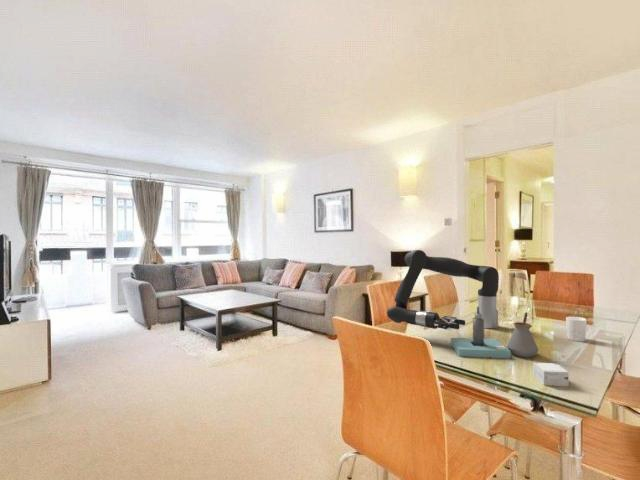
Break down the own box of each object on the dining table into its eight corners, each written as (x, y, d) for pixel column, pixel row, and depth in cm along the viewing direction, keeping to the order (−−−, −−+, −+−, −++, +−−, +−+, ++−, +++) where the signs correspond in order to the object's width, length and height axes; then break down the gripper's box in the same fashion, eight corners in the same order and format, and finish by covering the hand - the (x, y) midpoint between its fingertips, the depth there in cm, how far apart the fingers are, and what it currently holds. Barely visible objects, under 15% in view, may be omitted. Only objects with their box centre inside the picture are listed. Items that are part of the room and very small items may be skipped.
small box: (543, 385, 113) (543, 370, 113) (532, 376, 121) (532, 362, 121) (569, 387, 112) (569, 372, 112) (556, 377, 120) (556, 363, 119)
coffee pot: (537, 361, 134) (536, 324, 134) (504, 355, 141) (504, 320, 141) (541, 346, 151) (541, 313, 151) (512, 342, 158) (512, 310, 158)
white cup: (582, 337, 163) (582, 317, 163) (589, 342, 155) (589, 321, 155) (563, 336, 165) (563, 316, 165) (569, 341, 158) (569, 320, 158)
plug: (482, 349, 149) (481, 305, 149) (485, 352, 145) (485, 307, 144) (471, 348, 150) (471, 305, 150) (474, 352, 145) (474, 307, 145)
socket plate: (496, 345, 153) (496, 336, 153) (510, 358, 138) (510, 348, 138) (450, 343, 157) (450, 335, 157) (459, 356, 141) (459, 346, 141)
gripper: (421, 314, 156) (457, 319, 146) (432, 309, 167) (466, 313, 157) (421, 330, 156) (457, 336, 146) (432, 324, 167) (467, 329, 157)
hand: (462, 324), depth 151 cm, fingers open, 8 cm apart
